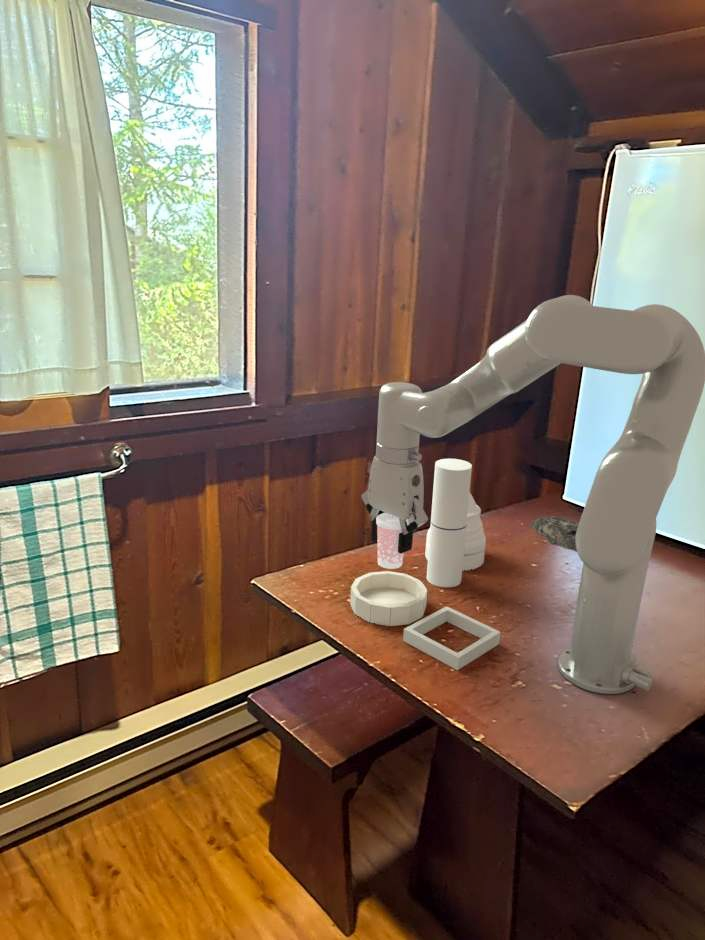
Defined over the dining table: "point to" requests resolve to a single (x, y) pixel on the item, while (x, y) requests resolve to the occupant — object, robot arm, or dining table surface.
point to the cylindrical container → (448, 522)
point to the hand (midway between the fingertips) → (391, 544)
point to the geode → (557, 530)
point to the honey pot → (470, 538)
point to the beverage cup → (388, 541)
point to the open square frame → (442, 653)
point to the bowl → (388, 598)
